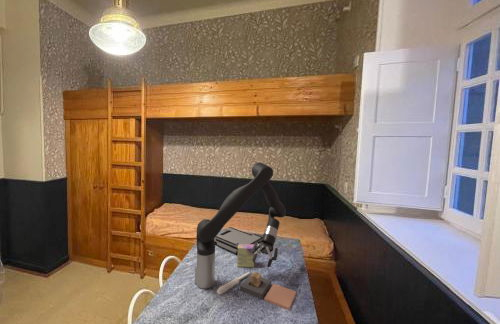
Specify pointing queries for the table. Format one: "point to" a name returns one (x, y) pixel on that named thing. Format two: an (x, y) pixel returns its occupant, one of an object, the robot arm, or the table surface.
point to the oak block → (256, 280)
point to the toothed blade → (231, 284)
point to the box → (245, 255)
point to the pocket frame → (255, 291)
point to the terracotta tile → (280, 296)
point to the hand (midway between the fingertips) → (260, 264)
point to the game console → (235, 239)
